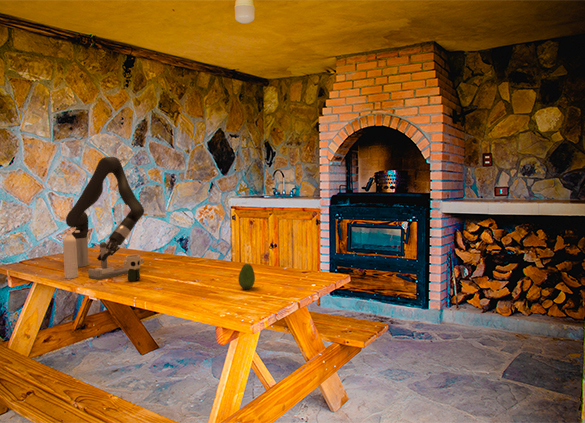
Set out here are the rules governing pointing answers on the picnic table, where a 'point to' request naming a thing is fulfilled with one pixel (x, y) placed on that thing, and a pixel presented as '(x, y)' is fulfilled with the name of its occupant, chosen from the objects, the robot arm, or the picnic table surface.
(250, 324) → the picnic table surface
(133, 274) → the toy figurine
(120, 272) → the rail board
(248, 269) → the fruit
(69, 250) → the water bottle
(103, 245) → the carriage
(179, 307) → the picnic table surface
